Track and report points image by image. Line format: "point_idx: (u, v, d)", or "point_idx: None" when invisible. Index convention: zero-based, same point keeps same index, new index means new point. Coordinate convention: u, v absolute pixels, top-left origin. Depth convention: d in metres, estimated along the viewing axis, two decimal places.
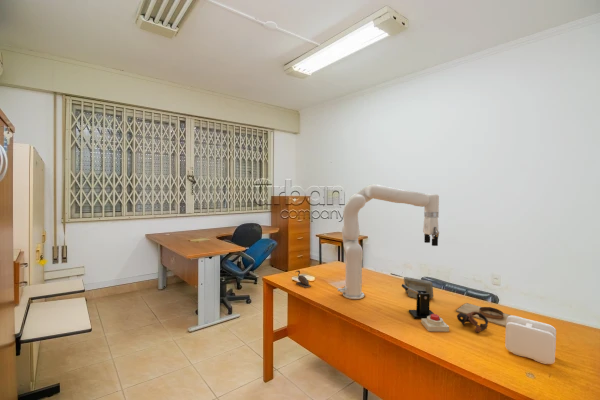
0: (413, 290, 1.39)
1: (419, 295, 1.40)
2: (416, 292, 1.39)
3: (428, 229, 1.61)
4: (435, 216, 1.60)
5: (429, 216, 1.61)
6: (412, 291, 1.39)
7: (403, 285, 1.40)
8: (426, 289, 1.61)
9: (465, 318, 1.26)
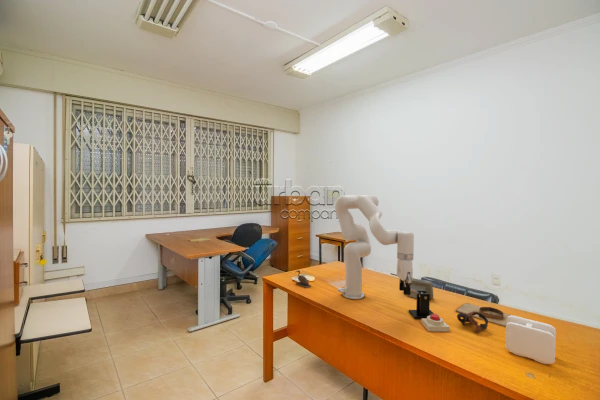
0: (413, 290, 1.39)
1: (419, 295, 1.40)
2: (416, 292, 1.39)
3: (401, 274, 1.37)
4: (409, 259, 1.35)
5: (402, 258, 1.36)
6: (412, 291, 1.39)
7: (403, 285, 1.40)
8: (426, 289, 1.61)
9: (465, 318, 1.26)
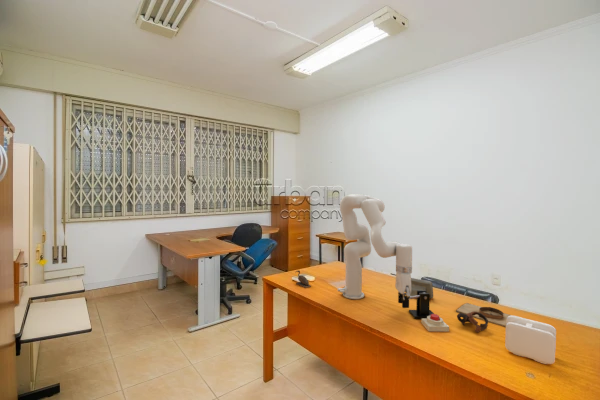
0: (412, 297, 1.39)
1: None
2: (415, 297, 1.39)
3: (400, 287, 1.37)
4: (407, 272, 1.36)
5: (401, 271, 1.37)
6: (411, 298, 1.39)
7: (401, 298, 1.40)
8: (426, 289, 1.61)
9: (465, 318, 1.27)
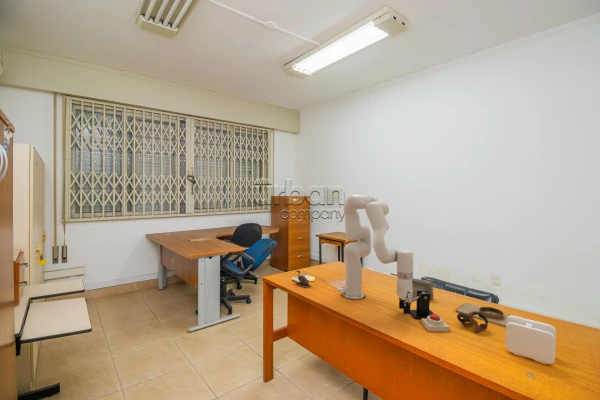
0: (412, 300, 1.39)
1: None
2: (416, 299, 1.39)
3: (401, 293, 1.37)
4: (409, 278, 1.36)
5: (402, 278, 1.37)
6: (412, 301, 1.39)
7: (402, 303, 1.40)
8: (426, 289, 1.61)
9: (465, 318, 1.27)
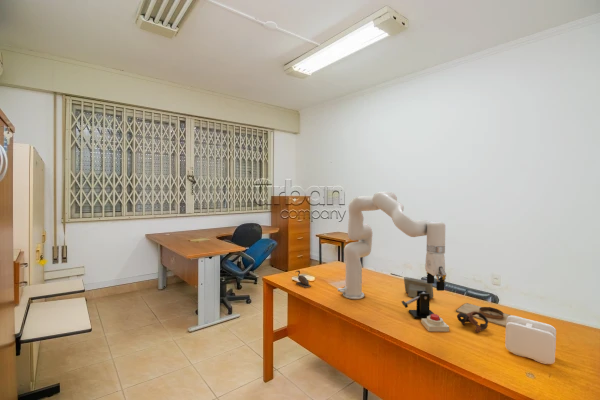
0: (412, 300, 1.39)
1: None
2: (416, 299, 1.39)
3: (432, 268, 1.24)
4: (441, 252, 1.23)
5: (433, 251, 1.24)
6: (412, 301, 1.39)
7: (402, 303, 1.40)
8: (426, 289, 1.61)
9: (465, 318, 1.27)
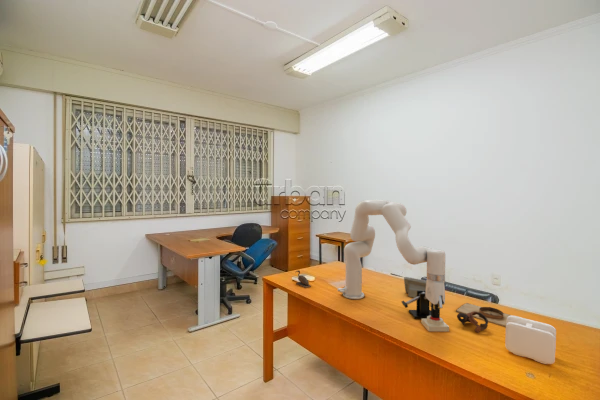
0: (412, 300, 1.39)
1: None
2: (416, 299, 1.39)
3: (432, 297, 1.25)
4: (441, 280, 1.23)
5: (433, 280, 1.24)
6: (412, 301, 1.39)
7: (402, 303, 1.40)
8: None
9: (465, 318, 1.27)
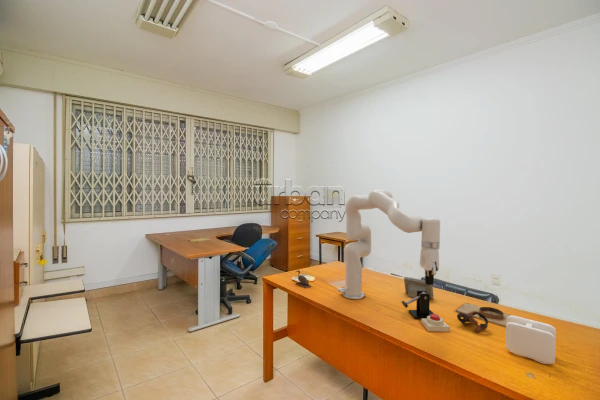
0: (412, 300, 1.39)
1: None
2: (416, 299, 1.39)
3: (426, 263, 1.27)
4: (435, 247, 1.26)
5: (427, 247, 1.26)
6: (412, 301, 1.39)
7: (402, 303, 1.40)
8: (426, 289, 1.61)
9: (465, 318, 1.27)
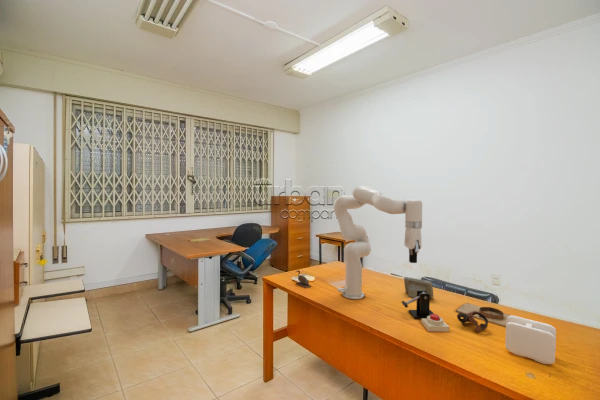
0: (412, 300, 1.39)
1: None
2: (416, 299, 1.39)
3: (409, 242, 1.34)
4: (418, 227, 1.33)
5: (410, 227, 1.34)
6: (412, 301, 1.39)
7: (402, 303, 1.40)
8: (426, 289, 1.61)
9: (465, 318, 1.27)
